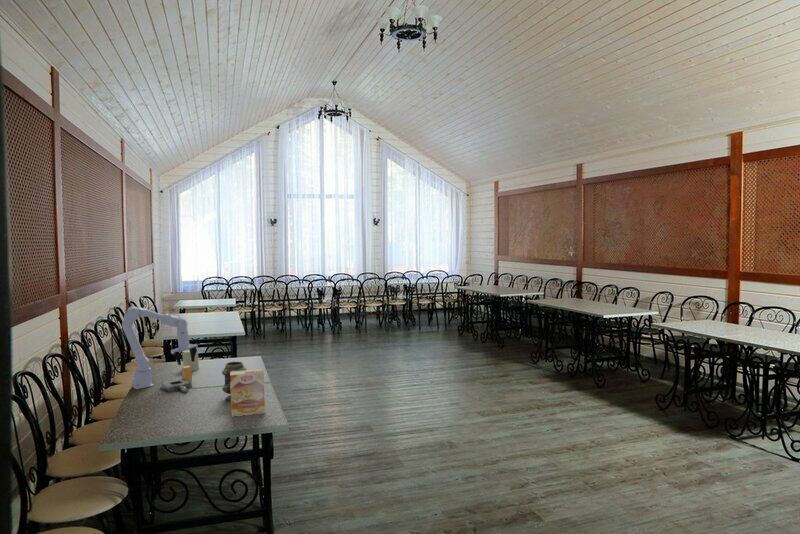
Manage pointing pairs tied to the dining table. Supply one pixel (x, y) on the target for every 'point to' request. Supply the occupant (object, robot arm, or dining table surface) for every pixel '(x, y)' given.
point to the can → (188, 361)
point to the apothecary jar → (226, 371)
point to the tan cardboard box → (187, 373)
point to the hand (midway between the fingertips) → (186, 363)
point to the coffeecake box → (247, 392)
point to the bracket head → (177, 385)
